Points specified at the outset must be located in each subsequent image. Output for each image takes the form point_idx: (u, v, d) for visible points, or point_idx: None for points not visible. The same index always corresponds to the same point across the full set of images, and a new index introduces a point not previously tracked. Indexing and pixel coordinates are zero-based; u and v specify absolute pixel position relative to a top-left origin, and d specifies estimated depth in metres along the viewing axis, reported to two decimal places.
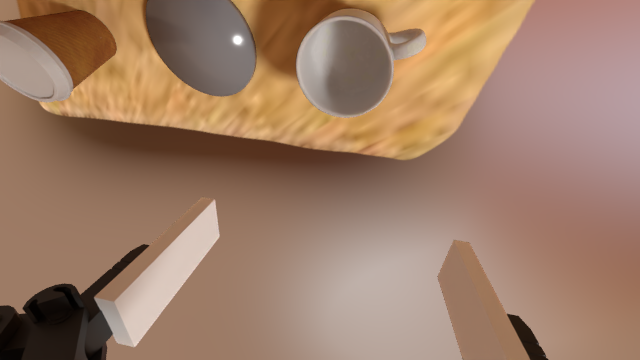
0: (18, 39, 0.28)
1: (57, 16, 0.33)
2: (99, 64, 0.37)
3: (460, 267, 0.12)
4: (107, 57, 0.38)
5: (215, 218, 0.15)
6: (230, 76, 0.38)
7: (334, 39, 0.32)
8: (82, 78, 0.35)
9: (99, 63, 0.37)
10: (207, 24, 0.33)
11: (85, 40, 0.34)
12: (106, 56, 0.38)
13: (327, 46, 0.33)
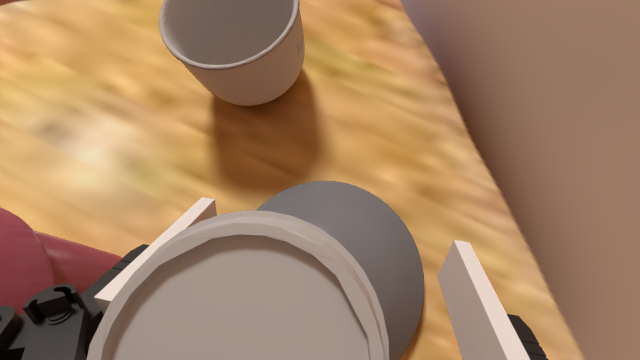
0: None
1: None
2: None
3: (460, 267, 0.12)
4: None
5: None
6: (358, 218, 0.21)
7: None
8: None
9: None
10: None
11: None
12: None
13: None
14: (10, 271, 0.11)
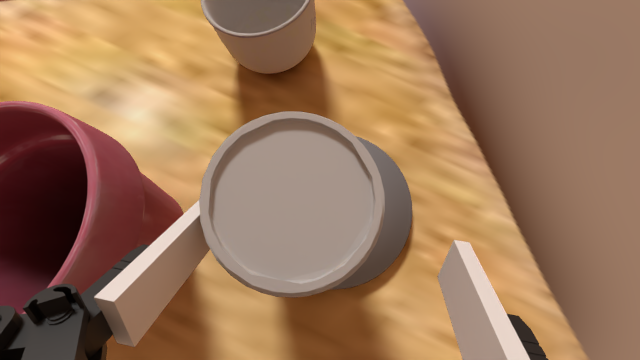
0: None
1: None
2: None
3: (460, 267, 0.12)
4: None
5: None
6: None
7: None
8: None
9: None
10: None
11: None
12: None
13: None
14: (119, 162, 0.16)
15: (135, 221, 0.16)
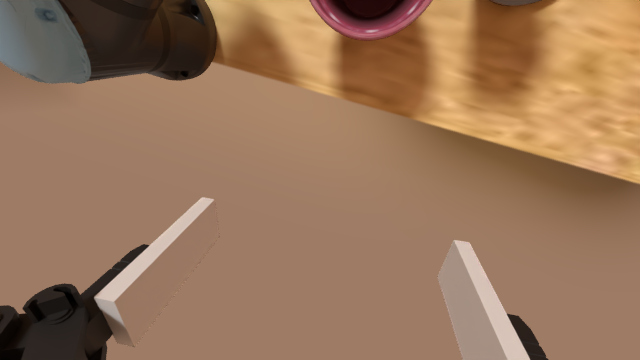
0: None
1: None
2: None
3: (460, 267, 0.12)
4: None
5: (215, 218, 0.15)
6: None
7: None
8: None
9: None
10: None
11: None
12: None
13: None
14: None
15: None
